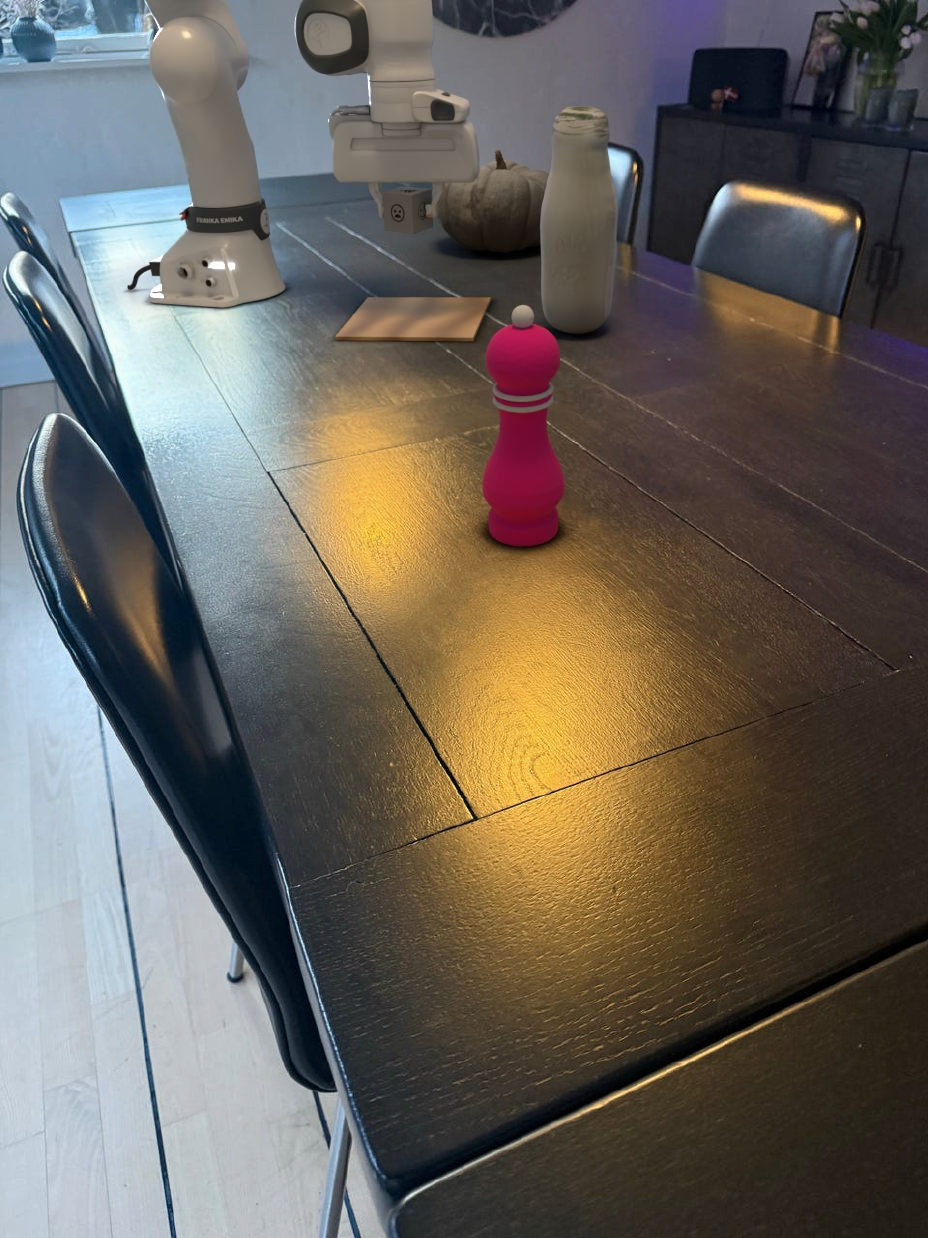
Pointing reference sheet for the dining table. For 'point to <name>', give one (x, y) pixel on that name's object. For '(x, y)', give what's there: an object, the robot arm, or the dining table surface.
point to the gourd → (495, 208)
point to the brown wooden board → (416, 319)
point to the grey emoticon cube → (406, 210)
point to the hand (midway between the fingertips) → (408, 216)
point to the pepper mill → (523, 434)
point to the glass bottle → (578, 223)
